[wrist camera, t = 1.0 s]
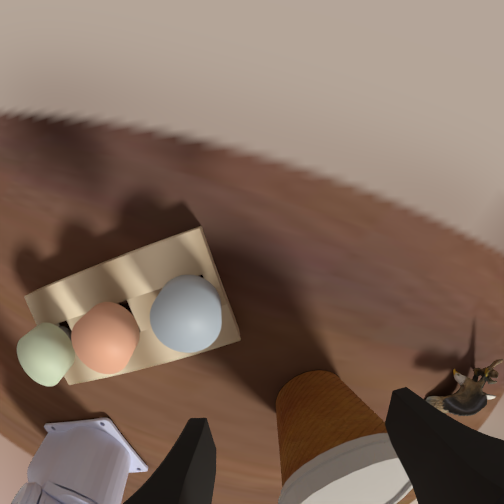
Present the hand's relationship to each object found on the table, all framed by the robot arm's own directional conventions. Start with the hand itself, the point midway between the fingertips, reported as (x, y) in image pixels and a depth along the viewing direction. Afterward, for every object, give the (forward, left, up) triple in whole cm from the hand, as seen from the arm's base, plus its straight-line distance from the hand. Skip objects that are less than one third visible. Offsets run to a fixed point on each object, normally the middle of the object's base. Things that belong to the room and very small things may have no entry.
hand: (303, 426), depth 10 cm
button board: (-9, +4, -12) cm, 16 cm away
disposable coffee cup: (+2, -9, -12) cm, 16 cm away
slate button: (-4, +4, -11) cm, 12 cm away
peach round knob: (-9, +4, -11) cm, 15 cm away
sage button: (-15, +4, -11) cm, 18 cm away
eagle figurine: (+18, -18, -13) cm, 28 cm away
